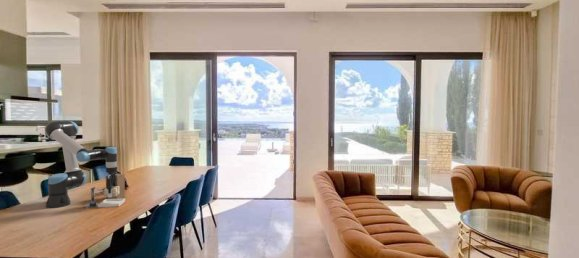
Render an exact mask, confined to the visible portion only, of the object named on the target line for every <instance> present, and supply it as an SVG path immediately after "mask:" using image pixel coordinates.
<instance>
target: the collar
mask: <svg viewBox="0 0 579 258" xmlns="http://www.w3.org/2000/svg"><path fill="white" fill-rule="evenodd" d="M102 191H103V193H104V194H103V195H104V197H105V198H106V197H108V189H106V187H105V188H103V189H102ZM118 194H119V186H112V196H117V195H118Z"/></svg>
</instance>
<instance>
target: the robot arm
mask: <svg viewBox="0 0 579 258" xmlns="http://www.w3.org/2000/svg"><path fill="white" fill-rule="evenodd" d="M44 132H45V134H46V136H47V137H48V138H49V139H50V140H55V141H56V142H57V143H58V144H60V145H61V147H62V152H63V158H64V165H65V171H64V173H63V172H62V173H55V174H52V175H51V176H49V177H48V181H47V184H48V197H47V200H46V202H45V207H46V208H49V209H52V208H53V209H55V208H62V207H66V206H69V205H70V204H71V203H72V201H71V198H70V197H69V194H68V193H69V192H68V190H71V189H73V188H79V187H81V186H84V185H85V183H86V182H87V174H86V173H85V172H84V171H83V169H82V168H80V166H79V163H80V162H81V163H82V162H83V163H84V162H85V163H86V162H89V161H90V162H91V161H97V160H105V167H106V168H105V172H106V173H108V174H107V175H108V176H107V175H106V176H107V188H106V187H105V188H106V189H108V198H110V197H112V186H117V177H116V174H117V172H118V148H117V147H116V146H106V147H105V148H104V149H102V148H96V149H92V150H88V149H87V148H85V147H84V146H83V145H81V144H80V143H79V142H77V141H76V140H75V139H76V137H77V134H78V133H79V126H78V124H77V123H76V122H74V121H72V120H62V121H60V120H59V121H57V120H54V121H51V122H49V123H47V124H46V125H45V128H44Z"/></svg>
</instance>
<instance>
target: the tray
mask: <svg viewBox="0 0 579 258" xmlns="http://www.w3.org/2000/svg"><path fill="white" fill-rule="evenodd" d="M125 202H126V198H125V197H123V198H121V199H106V198H105V199H104V200H102V201H100V202H98V203H99V204H98V207H97V208H112V207H113V208H117V206H119V207H120V206H121V205H122V204H123V203H125Z"/></svg>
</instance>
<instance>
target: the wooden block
mask: <svg viewBox="0 0 579 258" xmlns="http://www.w3.org/2000/svg"><path fill="white" fill-rule="evenodd" d="M108 175H109V174H107V175H105V188H107V176H108ZM125 176H126V175H125V173H116V177H117V186H119V194H118V195H117V196H112V197H110V198H108V197H105V199H124V198H125V197H126V196H125V189H126V188H125V187H126V186H125V184H126V183H125V180H126V179H125V178H126V177H125Z"/></svg>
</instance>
